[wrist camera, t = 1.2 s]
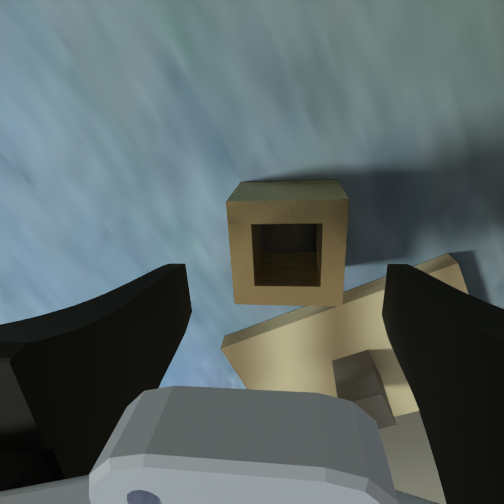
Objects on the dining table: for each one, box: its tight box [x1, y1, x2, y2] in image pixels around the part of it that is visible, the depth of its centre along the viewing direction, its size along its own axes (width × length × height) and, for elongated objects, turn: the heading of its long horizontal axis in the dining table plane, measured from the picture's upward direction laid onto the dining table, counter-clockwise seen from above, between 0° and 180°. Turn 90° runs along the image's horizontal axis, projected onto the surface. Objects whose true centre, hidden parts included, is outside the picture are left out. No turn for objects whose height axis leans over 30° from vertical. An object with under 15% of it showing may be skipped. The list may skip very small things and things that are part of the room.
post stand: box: [221, 254, 468, 429], centre depth 19 cm, size 14×9×4 cm, turn 118°
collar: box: [226, 180, 349, 306], centre depth 16 cm, size 5×5×4 cm
